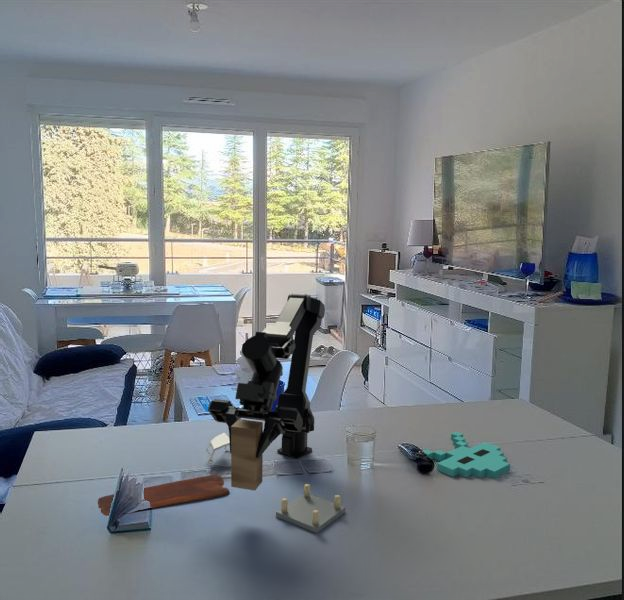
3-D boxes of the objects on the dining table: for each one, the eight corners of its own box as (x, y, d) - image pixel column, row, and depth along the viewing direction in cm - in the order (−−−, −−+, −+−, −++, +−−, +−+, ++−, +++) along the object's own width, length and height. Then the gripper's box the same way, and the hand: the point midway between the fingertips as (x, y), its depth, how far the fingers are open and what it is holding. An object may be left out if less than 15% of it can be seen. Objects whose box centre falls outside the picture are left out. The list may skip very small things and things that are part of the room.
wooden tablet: (219, 477, 138) (219, 470, 138) (232, 497, 129) (232, 490, 129) (96, 498, 127) (96, 490, 127) (100, 521, 118) (99, 513, 118)
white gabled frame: (241, 468, 142) (241, 448, 141) (205, 469, 140) (205, 449, 140) (239, 447, 153) (239, 428, 153) (206, 448, 152) (205, 430, 151)
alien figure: (407, 459, 149) (477, 489, 134) (407, 450, 149) (477, 480, 134) (455, 439, 162) (524, 464, 147) (456, 431, 162) (524, 456, 147)
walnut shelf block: (239, 477, 122) (239, 419, 120) (262, 481, 121) (262, 422, 119) (231, 486, 118) (231, 426, 116) (255, 490, 117) (255, 429, 115)
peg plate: (305, 497, 128) (305, 481, 128) (345, 511, 123) (345, 495, 122) (275, 516, 120) (276, 500, 120) (316, 533, 115) (317, 516, 114)
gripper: (211, 360, 122) (186, 432, 113) (299, 369, 117) (280, 445, 108) (227, 386, 131) (205, 455, 122) (310, 395, 126) (293, 468, 117)
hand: (244, 455), depth 117 cm, fingers closed on walnut shelf block, 5 cm apart
